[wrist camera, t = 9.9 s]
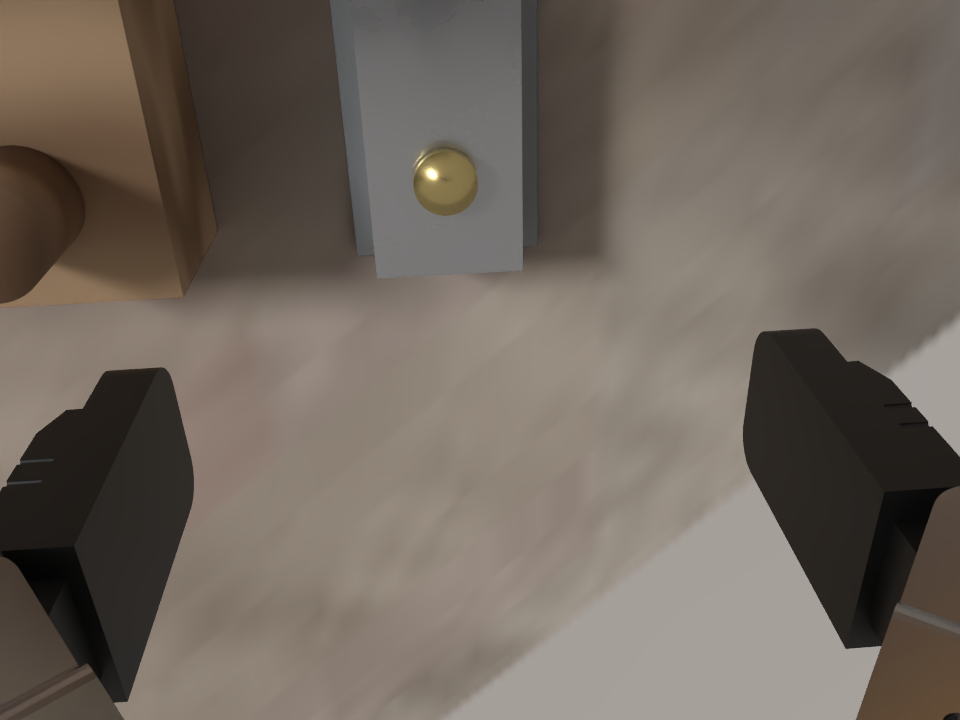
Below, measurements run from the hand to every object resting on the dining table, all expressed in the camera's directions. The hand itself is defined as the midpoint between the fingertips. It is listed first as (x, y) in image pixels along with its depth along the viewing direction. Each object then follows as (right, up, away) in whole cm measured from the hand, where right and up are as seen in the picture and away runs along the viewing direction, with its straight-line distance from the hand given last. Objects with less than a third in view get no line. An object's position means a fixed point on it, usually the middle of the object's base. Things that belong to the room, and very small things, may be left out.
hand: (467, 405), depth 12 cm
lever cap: (-1, +9, +15) cm, 17 cm away
